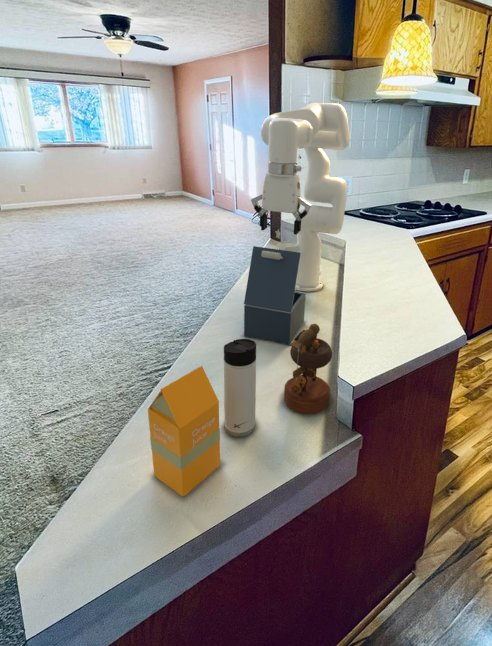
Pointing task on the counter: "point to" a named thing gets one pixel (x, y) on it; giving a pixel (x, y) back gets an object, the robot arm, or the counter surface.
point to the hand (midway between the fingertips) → (280, 231)
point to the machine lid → (272, 278)
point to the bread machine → (275, 321)
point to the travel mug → (240, 387)
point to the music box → (308, 373)
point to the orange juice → (185, 432)
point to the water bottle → (287, 245)
